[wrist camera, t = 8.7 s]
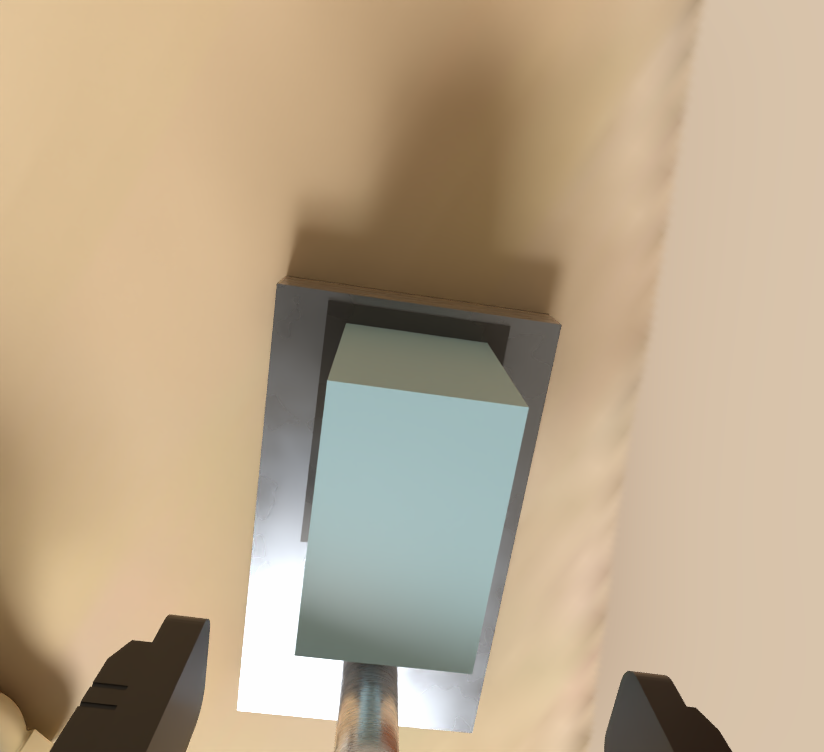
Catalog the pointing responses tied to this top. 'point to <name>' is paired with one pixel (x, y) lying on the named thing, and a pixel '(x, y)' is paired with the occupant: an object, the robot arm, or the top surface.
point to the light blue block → (408, 500)
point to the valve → (18, 731)
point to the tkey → (367, 709)
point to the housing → (295, 479)
